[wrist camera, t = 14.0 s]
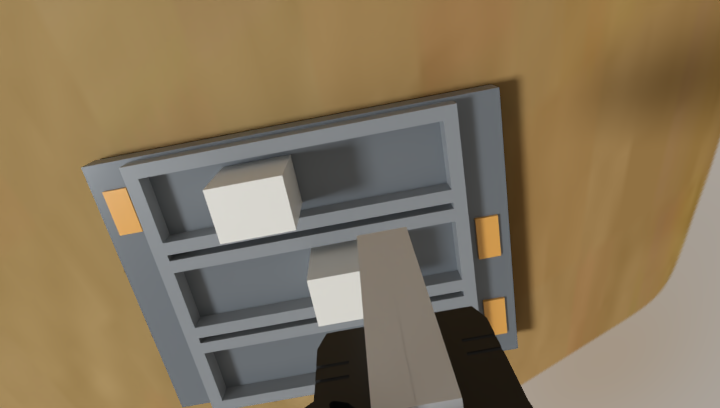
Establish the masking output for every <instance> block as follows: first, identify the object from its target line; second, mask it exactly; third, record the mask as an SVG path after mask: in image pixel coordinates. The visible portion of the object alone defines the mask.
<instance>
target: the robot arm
mask: <svg viewBox="0 0 720 408" xmlns="http://www.w3.org/2000/svg"><path fill="white" fill-rule="evenodd" d="M357 247H358V259H359V271H360V283H361V295H362V307H363V319H364V327H360V328H354V329H348V330H343V331H337V332H332V333H327V334H326V335H325V337H324V339H323V340H322V342H321V344H320V346H319V347H318V349H317V361H316V369H317V370H316V376H315V382H316V384H315V392H314V402H312V403H311V404H310V405H308V406H307V407H305V408H533V407H532V405H531V404H530V402H529V401H528V399H527V397H526V395H525V393H524V391H523V389H522V387H521V385H520V383H519V381H518V379H517V377H516V375H515V373H514V371H513V369H512V367H511V365H510V363H509V361H508V359H507V357H506V355H505V353H504V351H503V350H502V348H501V345H500V343H499V341H498V339H497V337H496V336H495V333H494V331H493V329H492V327H491V325H490V323H489V321H488V319H487V317H485V316H484V315H483V314H481V313H480V312H479V311H478V310H476V309H475V308H474V307H472V306H469V307H463V308H458V309H452V310H447V311H441V312H435V313H434V310H433V307H432V304H431V301H430V298H429V295H428V292H427V289H426V286H425V283H424V279H423V276H422V273H421V270H420V267H419V264H418V261H417V258H416V255H415V252H414V249H413V246H412V243H411V240H410V237H409V234H408V231H407V227H402V228H397V229H391V230H386V231H381V232H375V233H370V234H364V235H359V236H357Z"/></svg>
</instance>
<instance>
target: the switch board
mask: <svg viewBox="0 0 720 408" xmlns="http://www.w3.org/2000/svg"><path fill="white" fill-rule="evenodd" d="M285 155H291V159H292V163H293V167H294V171H295V175H296V179H297V183H298V187H299V191H300V195H301V199H302V207H301V211H300V216H299V220H298V225H297V229H296V230H295V231H289V232H284V233H279V234H273V235H268V236H263V237H257V238H252V239H246V240H241V241H236V242H230V243H225V244H220V242H219V239H218V236H217V233H216V230H215V227H214V224H213V221H212V218H211V215H210V212H209V209H208V205H207V202H206V199H205V196H204V193H203V189H204V188H205V187H206V186H207V185H208V183H209V182H210V181H211V180H212V179H213V178H214V176H215V175H216V174H217V173H218V172H219V171H220V170H221V168H222V167H228V166H233V165H238V164H243V163H249V162H254V161H259V160H264V159H270V158H275V157H280V156H285ZM81 168H82V171H83V173H84V176H85V178H86V180H87V183H88V185H89V187H90V190H91V192H92V194H93V197H94V199H95V202H96V204H97V206H98V209H99V211H100V213H101V216H102V218H103V220H104V223H105V225H106V228H107V230H108V232H109V235H110V237H111V239H112V242H113V244H114V247H115V249H116V251H117V254H118V256H119V258H120V261H121V263H122V265H123V268H124V270H125V273H126V275H127V277H128V280H129V282H130V284H131V287H132V289H133V291H134V294H135V296H136V299H137V301H138V303H139V306H140V308H141V310H142V313H143V315H144V317H145V320H146V322H147V325H148V327H149V329H150V332H151V334H152V336H153V339H154V341H155V343H156V346H157V348H158V351H159V353H160V355H161V358H162V360H163V362H164V365H165V367H166V369H167V372H168V374H169V377H170V379H171V381H172V384H173V386H174V388H175V391H176V393H177V395H178V398H179V400H180V403H181V405H182V407H186V406H192V405H198V404H203V403H209V402H211V405H212V407H213V408H239V407H244V406H250V405H256V404H262V403H267V402H273V401H279V400H284V399H290V398H296V397H301V396H307V395H313V394H314V392H315V384H316V382H315V376H316V370H317V369H316V361H317V349H318V347H319V346H320V344H321V342H322V340H323V339H324V337H325V335H326V334H327V333H332V332H337V331H343V330H348V329H354V328H360V327H364V319H359V320H353V321H347V322H342V323H336V324H331V325H325V326H320V327H319V326H318V322H317V318H316V315H315V311H314V307H313V303H312V299H311V295H310V291H309V288H308V284H307V275H308V268H309V260H310V253H311V248H313V247H319V246H324V245H330V244H335V243H340V242H346V241H351V240H357V236H359V235H364V234H370V233H375V232H381V231H386V230H391V229H397V228H402V227H407V231H408V234H409V237H410V240H411V243H412V246H413V249H414V252H415V255H416V258H417V261H418V264H419V267H420V270H421V273H422V276H423V279H424V283H425V286H426V289H427V292H428V295H429V298H430V301H431V304H432V307H433V310H434V313H435V312H441V311H447V310H452V309H458V308H463V307H469V306H472V307H474V308H475V309H476V310H478V311H479V312H480V313H481V314H483V315H484V316H485V317H487V319H488V321H489V323H490V325H491V327H492V329H493V331H494V333H495V336H496V337H497V339H498V341H499V343H500V345H501V348H502V350H503V351H504V350H510V349H516V348H518V344H517V330H516V316H515V301H514V287H513V273H512V259H511V245H510V231H509V217H508V203H507V189H506V174H505V160H504V146H503V132H502V118H501V104H500V90H499V87H497V86H494V85H491V84H490V85H485V86H480V87H474V88H469V89H464V90H459V91H454V92H448V93H443V94H438V95H433V96H428V97H422V98H417V99H412V100H407V101H402V102H396V103H391V104H386V105H381V106H376V107H370V108H365V109H360V110H355V111H350V112H344V113H339V114H334V115H329V116H324V117H318V118H313V119H308V120H303V121H298V122H292V123H287V124H282V125H277V126H272V127H266V128H261V129H256V130H251V131H246V132H240V133H235V134H230V135H225V136H220V137H214V138H209V139H204V140H199V141H194V142H188V143H183V144H178V145H173V146H168V147H162V148H157V149H152V150H147V151H142V152H136V153H131V154H126V155H121V156H116V157H110V158H105V159H100V160H95V161H93V162H91V163H89V164H87V165H85V166H83V167H81Z"/></svg>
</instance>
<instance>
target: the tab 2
mask: <svg viewBox="0 0 720 408" xmlns="http://www.w3.org/2000/svg"><path fill="white" fill-rule="evenodd" d="M307 284H308V288H309V291H310V295H311V299H312V303H313V307H314V311H315V315H316V318H317V322H318V326H319V327H320V326H325V325H331V324H336V323H342V322H347V321H353V320H359V319H363V307H362V295H361V283H360V271H359V259H358V247H357V240H351V241H346V242H340V243H335V244H330V245H324V246H319V247H313V248H311V253H310V260H309V268H308V275H307Z"/></svg>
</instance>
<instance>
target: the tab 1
mask: <svg viewBox="0 0 720 408" xmlns="http://www.w3.org/2000/svg"><path fill="white" fill-rule="evenodd" d="M203 193H204V196H205V199H206V202H207V205H208V209H209V212H210V215H211V218H212V221H213V224H214V227H215V230H216V233H217V236H218V239H219V242H220V244H225V243H230V242H236V241H241V240H246V239H252V238H257V237H263V236H268V235H273V234H279V233H284V232H289V231H295V230H296V229H297V225H298V220H299V216H300V211H301V207H302V199H301V195H300V191H299V187H298V183H297V179H296V175H295V171H294V167H293V163H292V159H291V155H285V156H280V157H275V158H270V159H264V160H259V161H254V162H249V163H243V164H238V165H233V166H228V167H222V168H221V170H220V171H219V172H218V173H217V174H216V175H215V176H214V178H213V179H212V180H211V181H210V182H209V183H208V185H207V186H206V187H205V188H204V189H203Z"/></svg>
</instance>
